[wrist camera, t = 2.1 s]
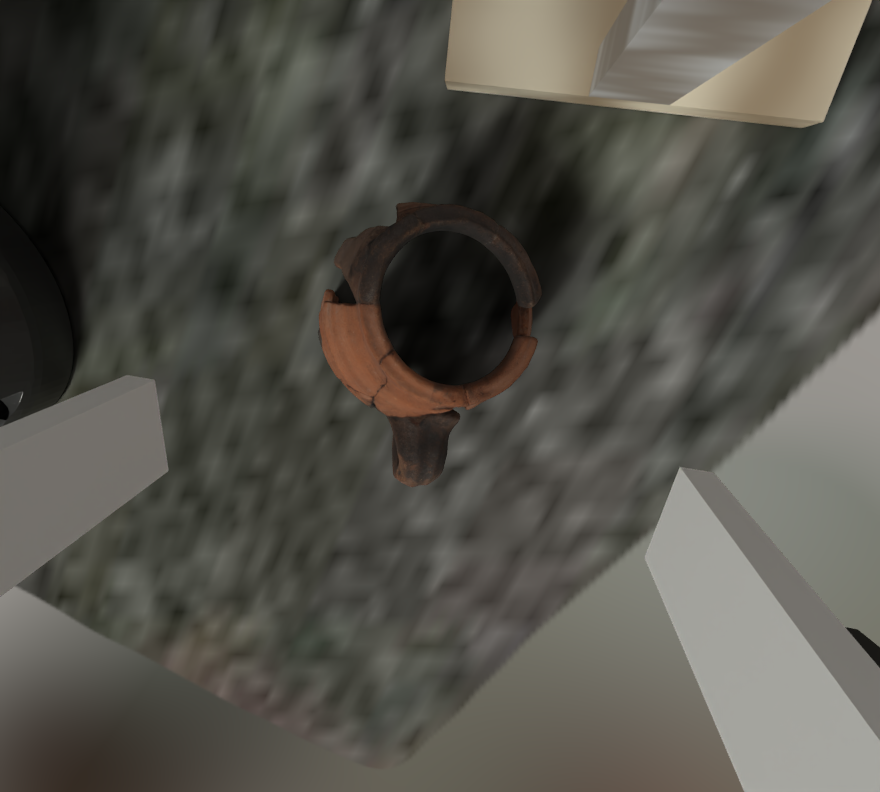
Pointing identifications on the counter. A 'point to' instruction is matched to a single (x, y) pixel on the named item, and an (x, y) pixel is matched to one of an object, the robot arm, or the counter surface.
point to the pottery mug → (376, 362)
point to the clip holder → (660, 54)
